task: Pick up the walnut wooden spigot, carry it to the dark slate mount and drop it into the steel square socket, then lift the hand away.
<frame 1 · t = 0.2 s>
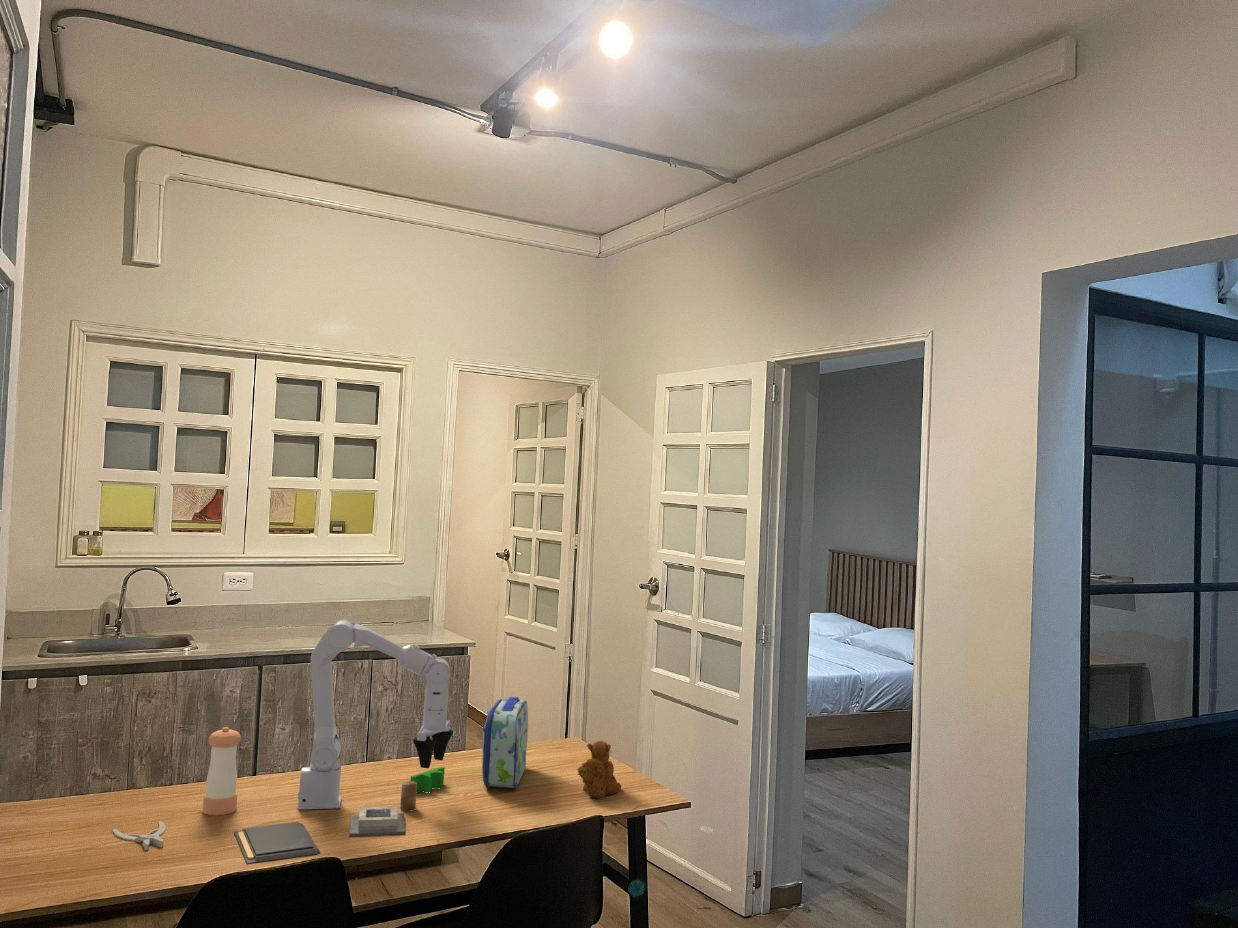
hand: (431, 763, 223), 10 cm above the table, tool pointing down, fingers open, 7 cm apart
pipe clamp: (429, 790, 233), on the table
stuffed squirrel: (597, 794, 237), on the table
mount: (377, 825, 206), on the table
grey flat slab: (275, 846, 193), on the table
spigot: (407, 808, 218), on the table
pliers: (145, 839, 192), on the table
pepper shaker: (219, 810, 210), on the table
lunch box: (503, 779, 246), on the table
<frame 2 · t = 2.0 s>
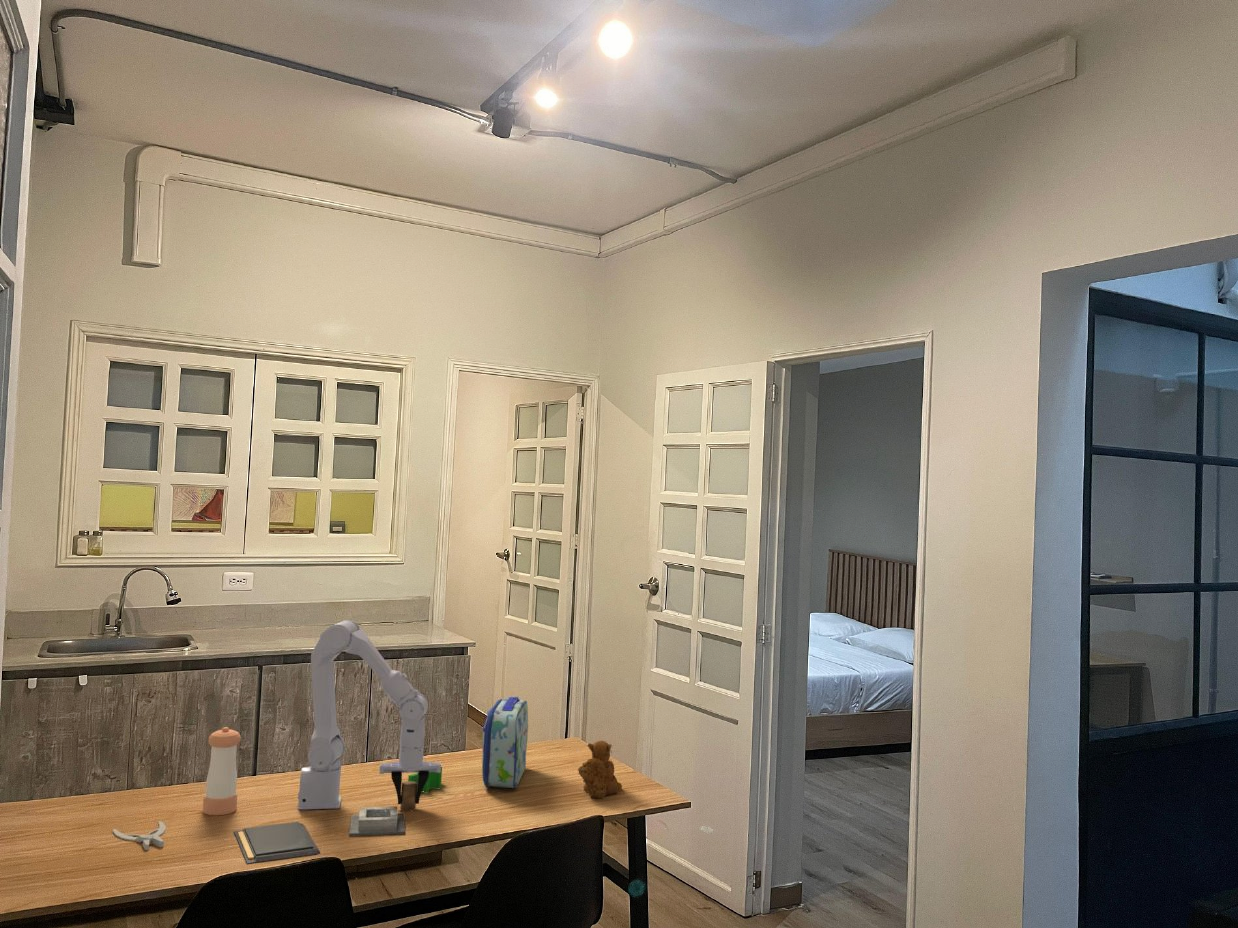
hand: (408, 802, 218), 1 cm above the table, tool pointing down, fingers closed on spigot, 4 cm apart
spigot: (407, 808, 218), on the table, touching gripper
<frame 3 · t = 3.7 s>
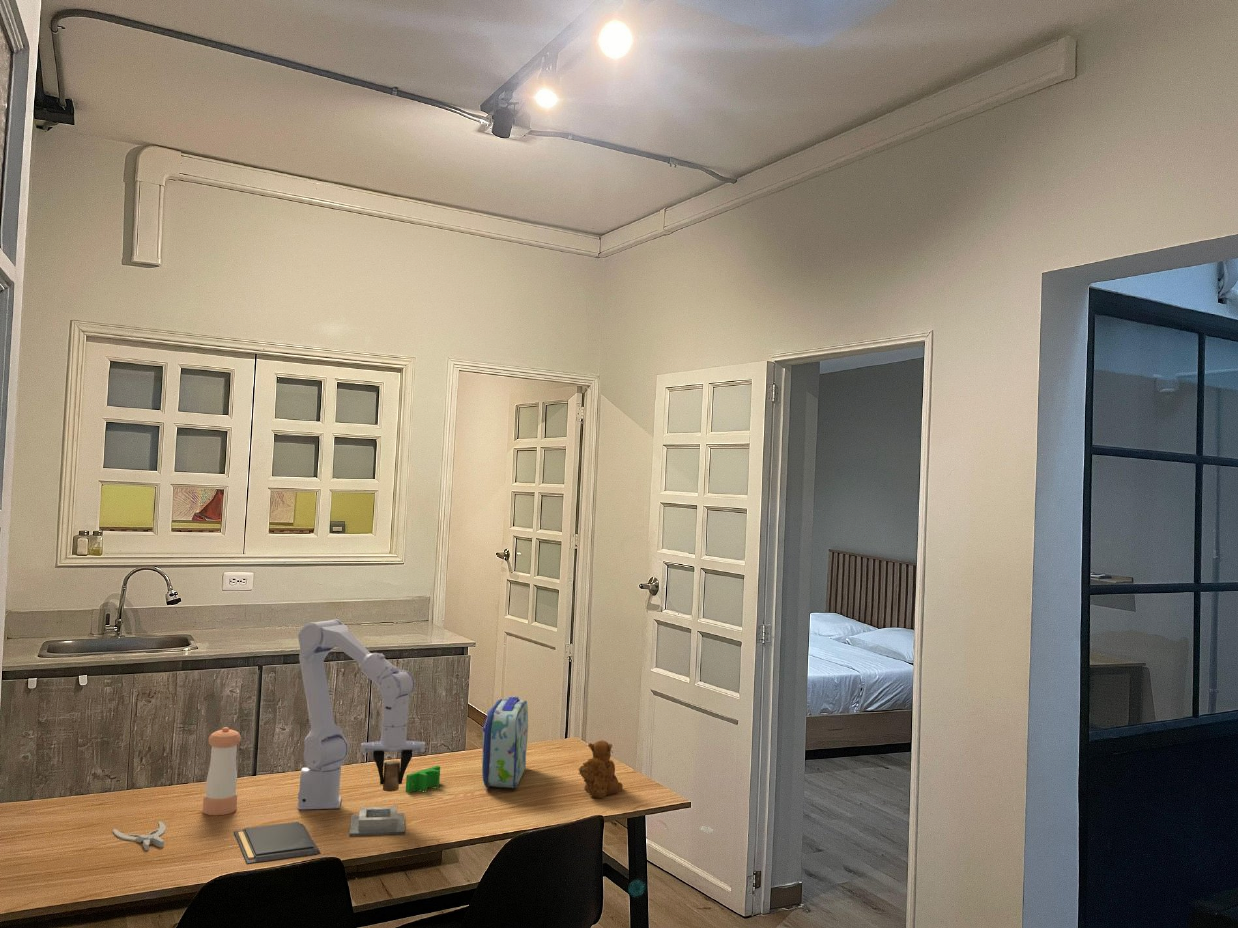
hand: (390, 782, 210), 8 cm above the table, tool pointing down, fingers closed on spigot, 4 cm apart
spigot: (390, 788, 210), point 7 cm above the table, touching gripper
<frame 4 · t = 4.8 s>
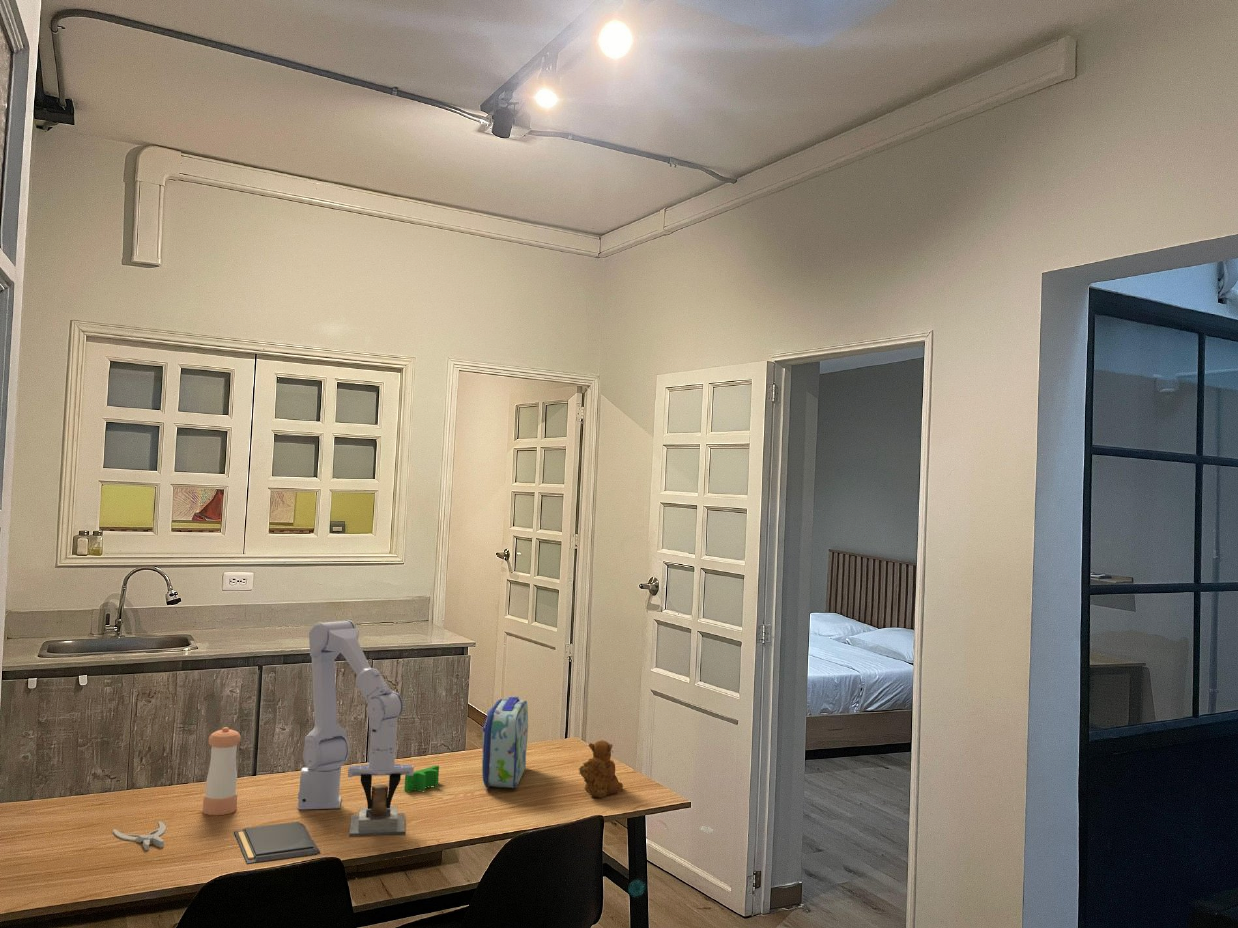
hand: (378, 807, 206), 4 cm above the table, tool pointing down, fingers closed on spigot, 4 cm apart
spigot: (378, 813, 206), point 3 cm above the table, touching gripper
when the fingers open (4 cm above the table, at t = 5.7 s): spigot drops 2 cm, resting on mount.
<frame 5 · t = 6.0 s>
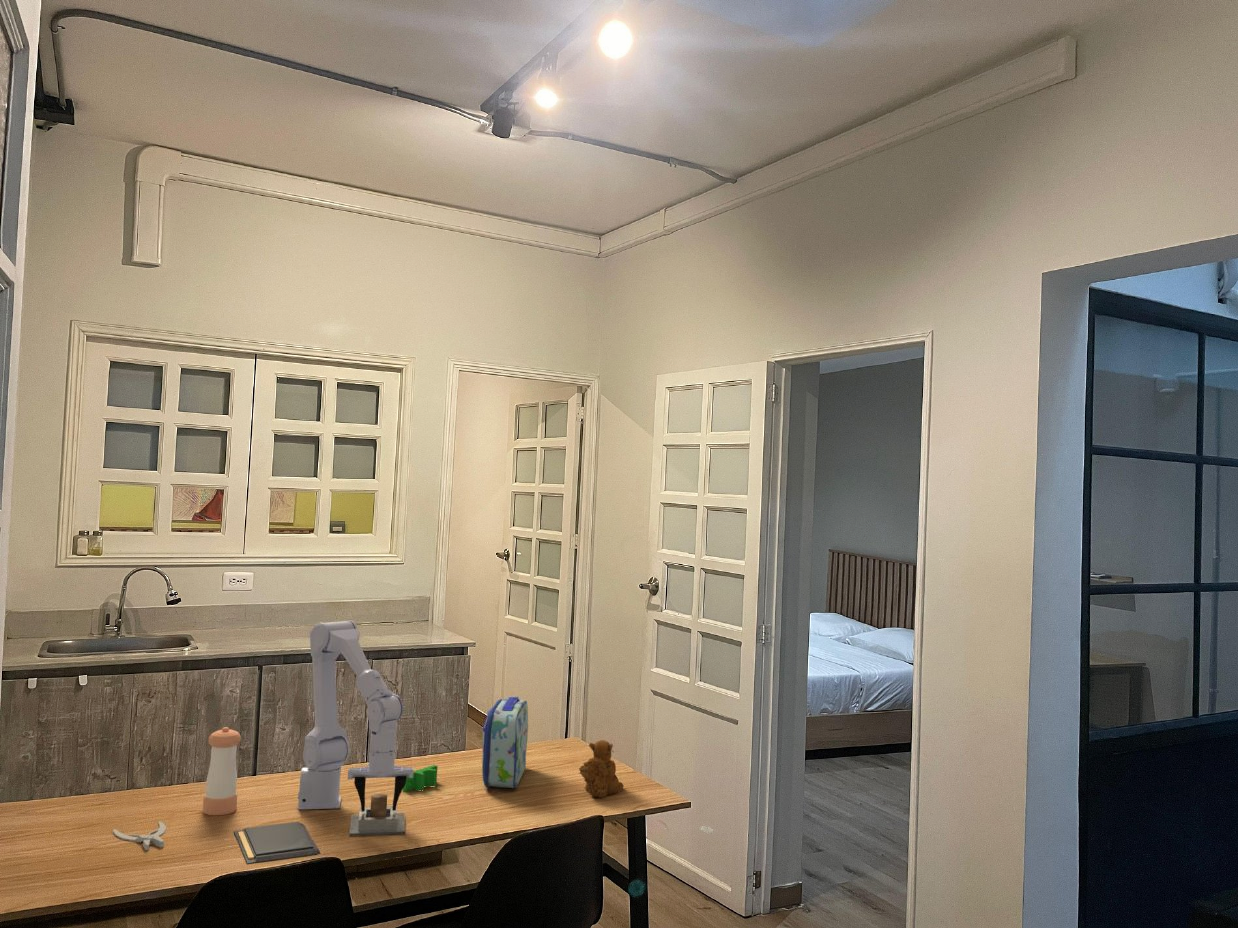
hand: (378, 809, 206), 4 cm above the table, tool pointing down, fingers open, 6 cm apart
spigot: (377, 822, 206), point 1 cm above the table, touching mount
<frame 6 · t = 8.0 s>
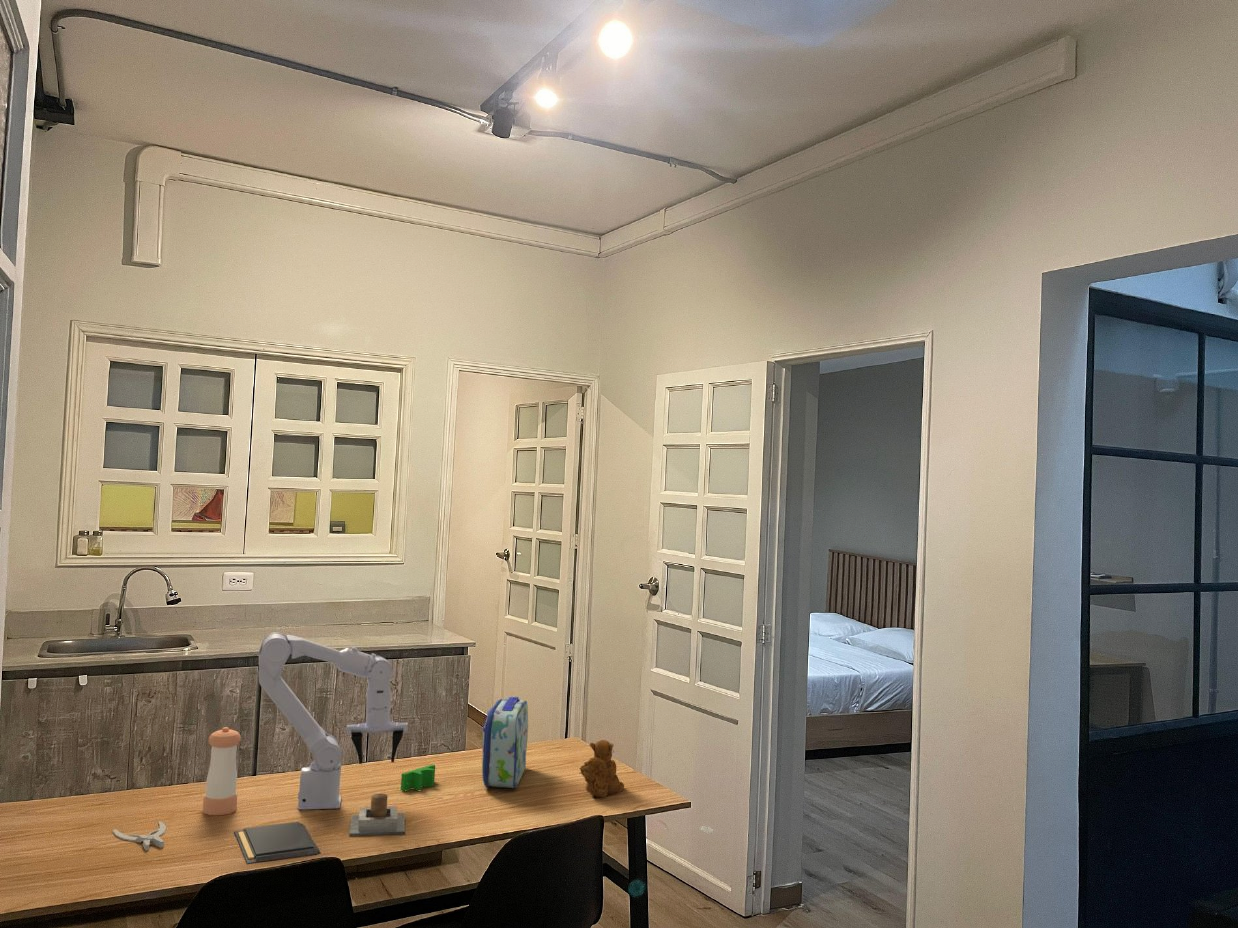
hand: (376, 761, 223), 9 cm above the table, tool pointing down, fingers open, 7 cm apart
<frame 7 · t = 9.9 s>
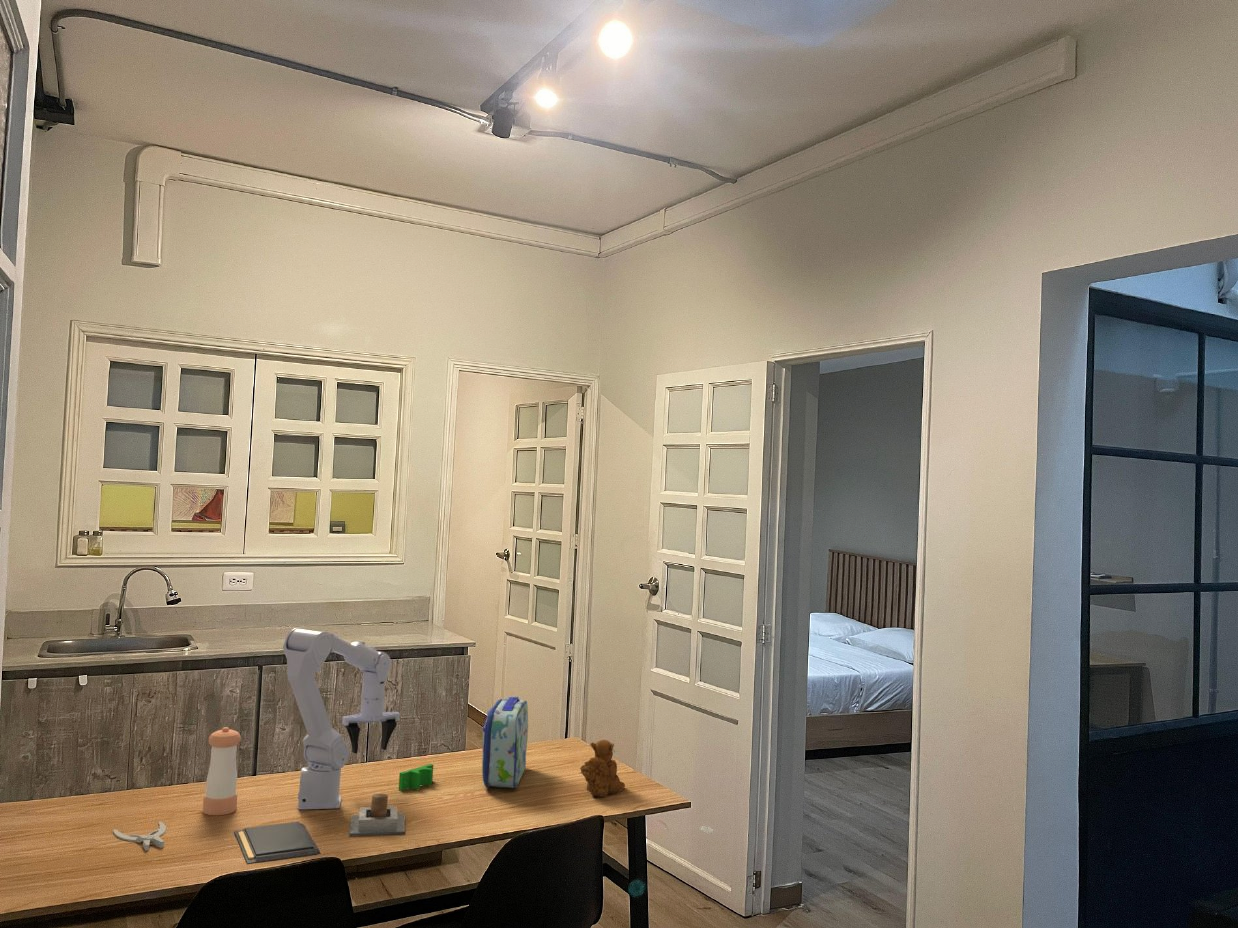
hand: (369, 750, 232), 9 cm above the table, tool pointing down, fingers open, 7 cm apart
at the end: spigot 0.1 cm off-centre on the mount, point 0.6 cm above the mount's base; spigot tilted 2°; the gripper is holding nothing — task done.
